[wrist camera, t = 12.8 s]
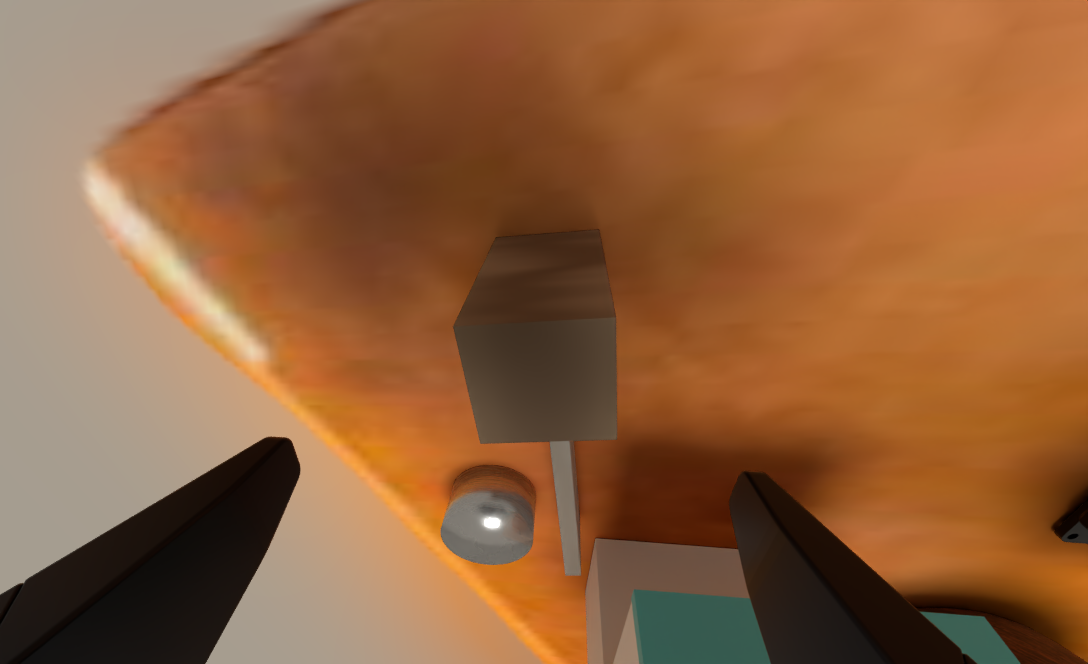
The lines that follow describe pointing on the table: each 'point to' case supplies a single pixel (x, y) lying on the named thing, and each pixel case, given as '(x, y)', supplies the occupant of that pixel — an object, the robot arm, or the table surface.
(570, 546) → the grey mallet
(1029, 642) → the wooden bowl
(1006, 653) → the l-shaped block
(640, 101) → the table surface
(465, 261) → the table surface
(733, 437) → the table surface
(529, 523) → the steel puck
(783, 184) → the table surface
